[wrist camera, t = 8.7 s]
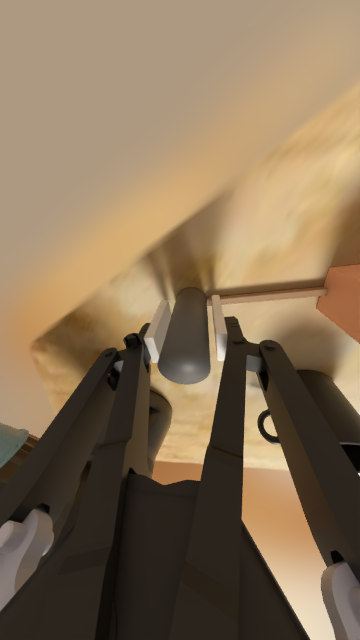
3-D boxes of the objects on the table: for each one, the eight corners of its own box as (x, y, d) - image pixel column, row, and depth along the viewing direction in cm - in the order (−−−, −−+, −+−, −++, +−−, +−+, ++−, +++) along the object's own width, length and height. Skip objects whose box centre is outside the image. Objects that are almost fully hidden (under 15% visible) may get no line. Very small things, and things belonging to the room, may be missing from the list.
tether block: (179, 318, 21) (165, 387, 12) (173, 285, 18) (150, 344, 10) (364, 304, 17) (516, 388, 9) (385, 261, 15) (622, 320, 6)
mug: (240, 382, 26) (255, 449, 19) (327, 361, 22) (392, 437, 14) (259, 411, 30) (277, 476, 23) (335, 398, 26) (390, 474, 18)
